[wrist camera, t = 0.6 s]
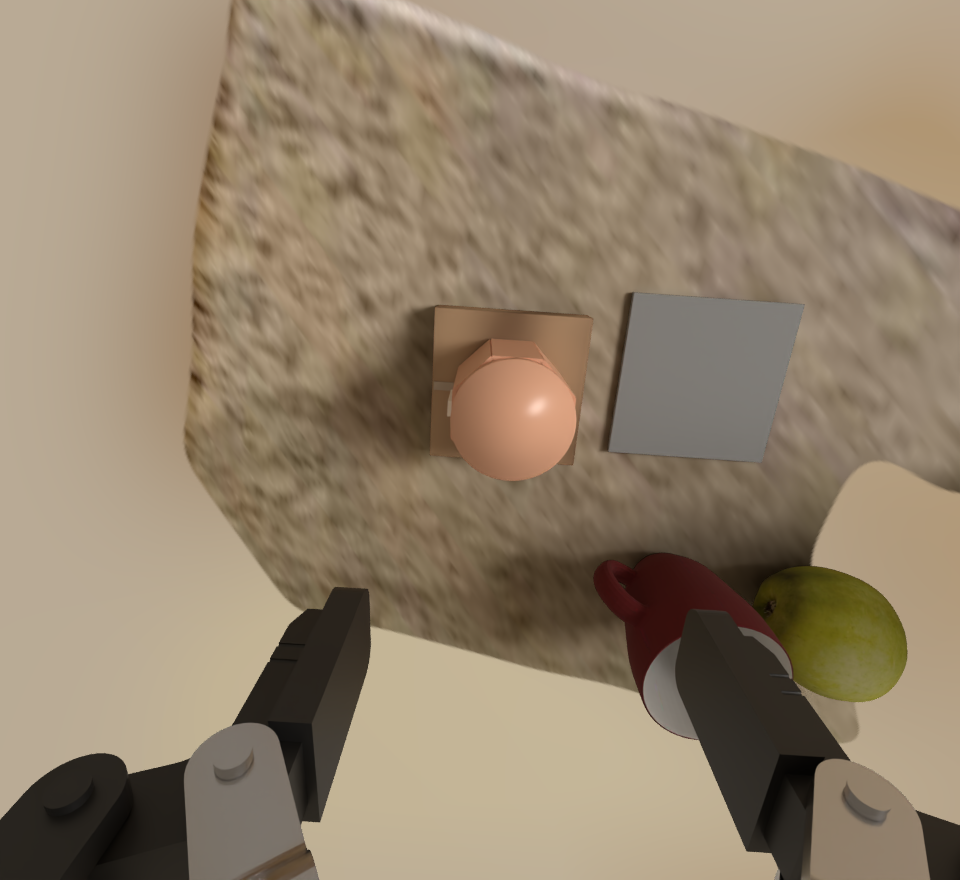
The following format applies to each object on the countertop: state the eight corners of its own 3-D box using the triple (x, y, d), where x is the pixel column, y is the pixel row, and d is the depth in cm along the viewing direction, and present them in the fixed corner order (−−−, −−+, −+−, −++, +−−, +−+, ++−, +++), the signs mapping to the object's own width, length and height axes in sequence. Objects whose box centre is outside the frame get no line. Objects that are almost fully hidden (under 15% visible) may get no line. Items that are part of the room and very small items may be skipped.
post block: (587, 315, 30) (613, 329, 24) (568, 453, 33) (587, 501, 27) (438, 304, 30) (423, 316, 24) (433, 444, 33) (418, 489, 27)
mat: (800, 304, 30) (804, 304, 29) (758, 460, 33) (761, 462, 33) (632, 292, 30) (634, 292, 29) (607, 449, 33) (608, 451, 33)
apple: (815, 651, 38) (895, 747, 31) (709, 613, 37) (764, 702, 30) (878, 569, 36) (981, 652, 28) (766, 527, 35) (841, 600, 27)
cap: (563, 343, 29) (584, 365, 23) (551, 441, 31) (568, 484, 25) (455, 336, 29) (447, 355, 23) (450, 434, 31) (442, 476, 25)
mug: (553, 587, 37) (573, 699, 27) (604, 496, 34) (646, 585, 25) (679, 636, 38) (740, 759, 29) (738, 551, 35) (826, 655, 26)
